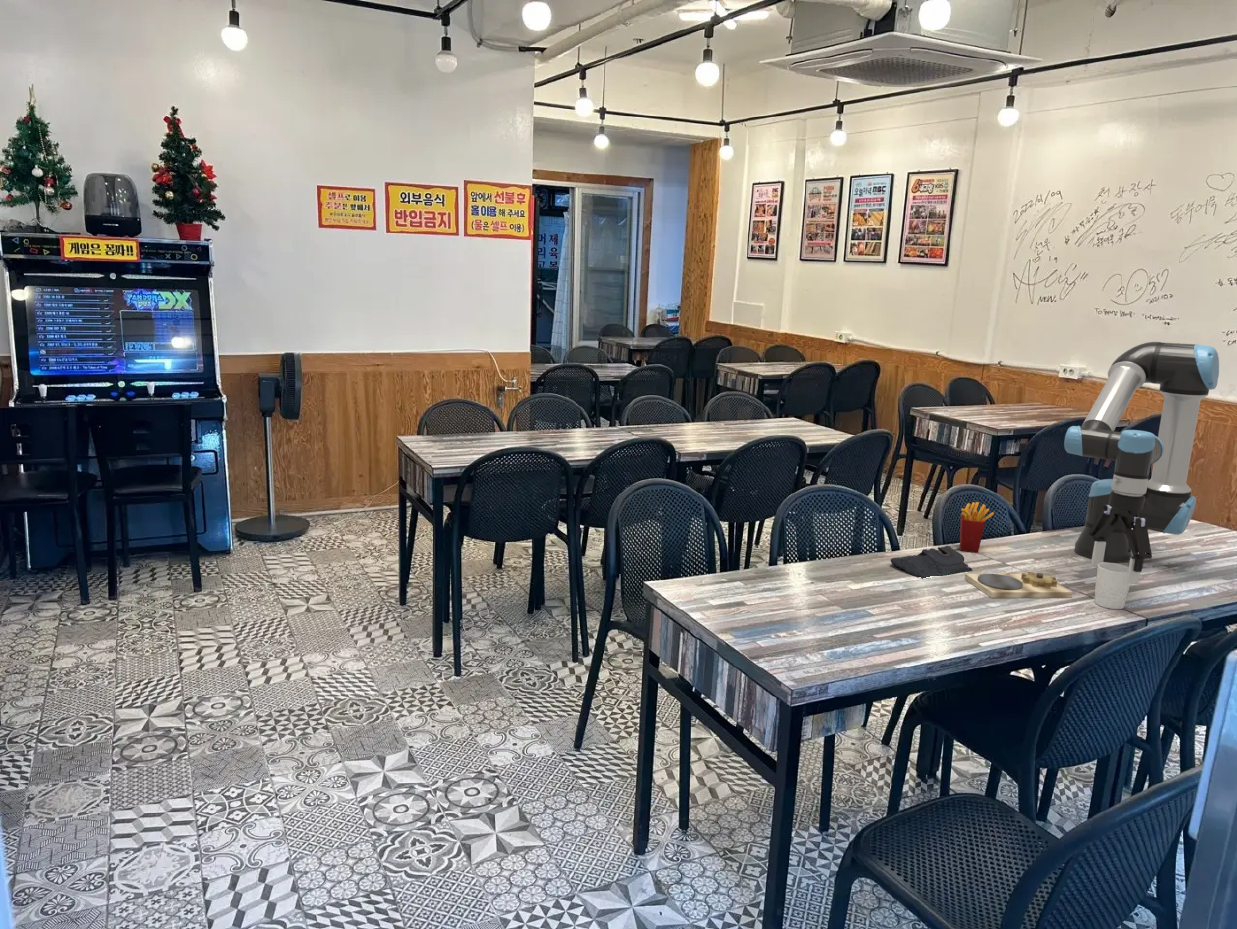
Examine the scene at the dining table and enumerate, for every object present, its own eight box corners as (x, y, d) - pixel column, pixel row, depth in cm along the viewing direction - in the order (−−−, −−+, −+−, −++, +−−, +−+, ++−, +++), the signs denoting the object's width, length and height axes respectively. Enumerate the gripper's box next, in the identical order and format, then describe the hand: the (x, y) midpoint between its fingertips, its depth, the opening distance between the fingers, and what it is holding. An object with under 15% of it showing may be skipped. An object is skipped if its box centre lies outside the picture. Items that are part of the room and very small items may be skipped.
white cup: (1118, 600, 226) (1124, 563, 224) (1132, 611, 218) (1139, 573, 216) (1086, 598, 227) (1092, 561, 225) (1099, 609, 219) (1106, 571, 217)
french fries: (957, 551, 262) (963, 503, 259) (955, 543, 270) (961, 497, 267) (989, 555, 260) (995, 506, 256) (986, 547, 267) (992, 500, 264)
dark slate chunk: (880, 564, 249) (882, 548, 248) (935, 555, 259) (937, 540, 258) (921, 582, 236) (923, 565, 235) (978, 571, 246) (980, 555, 245)
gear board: (1040, 578, 240) (1042, 565, 239) (1071, 597, 227) (1073, 582, 226) (964, 579, 238) (966, 565, 237) (991, 597, 224) (993, 583, 223)
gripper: (1082, 481, 228) (1069, 558, 232) (1149, 505, 204) (1133, 591, 208) (1108, 481, 229) (1095, 559, 233) (1178, 505, 205) (1162, 591, 209)
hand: (1113, 574), depth 221 cm, fingers open, 13 cm apart
